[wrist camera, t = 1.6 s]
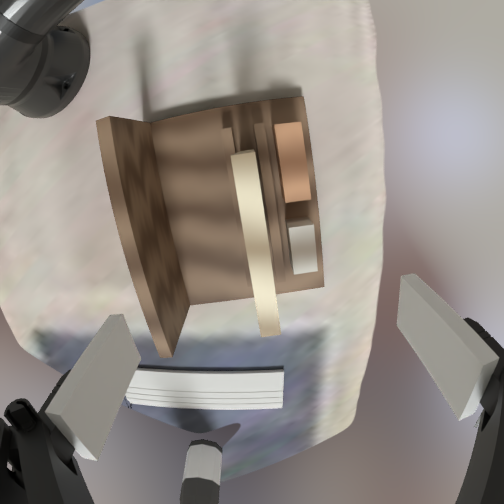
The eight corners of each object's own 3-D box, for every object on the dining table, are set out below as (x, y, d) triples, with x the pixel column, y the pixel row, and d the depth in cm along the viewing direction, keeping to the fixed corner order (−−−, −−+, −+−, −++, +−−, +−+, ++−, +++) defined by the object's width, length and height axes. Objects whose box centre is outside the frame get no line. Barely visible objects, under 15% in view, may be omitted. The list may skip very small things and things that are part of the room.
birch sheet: (240, 151, 36) (230, 155, 19) (253, 149, 36) (255, 152, 19) (257, 256, 40) (261, 337, 24) (268, 255, 40) (281, 334, 23)
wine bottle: (229, 448, 58) (223, 561, 30) (208, 458, 60) (197, 562, 32) (202, 435, 56) (186, 554, 28) (181, 445, 58) (162, 554, 30)
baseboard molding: (281, 408, 54) (283, 366, 50) (282, 419, 51) (284, 377, 47) (133, 404, 54) (116, 363, 50) (129, 414, 51) (111, 372, 47)
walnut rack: (143, 126, 36) (95, 120, 23) (301, 98, 35) (326, 75, 22) (182, 301, 44) (160, 357, 32) (322, 282, 43) (347, 335, 31)
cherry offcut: (271, 126, 35) (274, 124, 31) (295, 124, 34) (301, 121, 31) (282, 196, 38) (285, 202, 34) (305, 193, 38) (311, 199, 34)
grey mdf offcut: (284, 219, 39) (288, 227, 35) (307, 216, 39) (313, 224, 35) (290, 262, 41) (293, 274, 37) (311, 259, 41) (317, 270, 37)
